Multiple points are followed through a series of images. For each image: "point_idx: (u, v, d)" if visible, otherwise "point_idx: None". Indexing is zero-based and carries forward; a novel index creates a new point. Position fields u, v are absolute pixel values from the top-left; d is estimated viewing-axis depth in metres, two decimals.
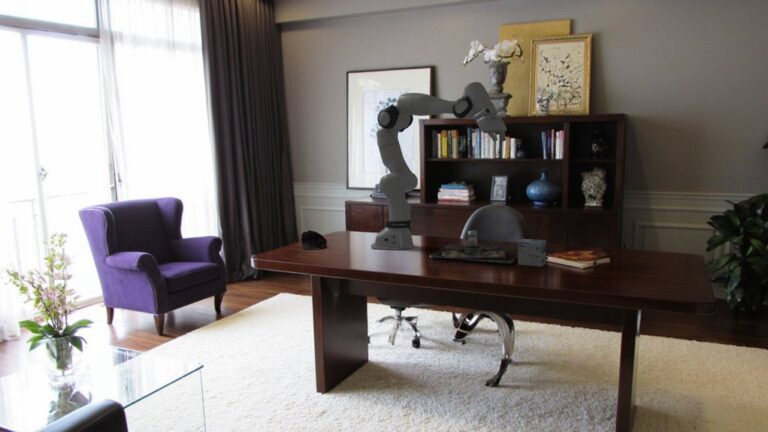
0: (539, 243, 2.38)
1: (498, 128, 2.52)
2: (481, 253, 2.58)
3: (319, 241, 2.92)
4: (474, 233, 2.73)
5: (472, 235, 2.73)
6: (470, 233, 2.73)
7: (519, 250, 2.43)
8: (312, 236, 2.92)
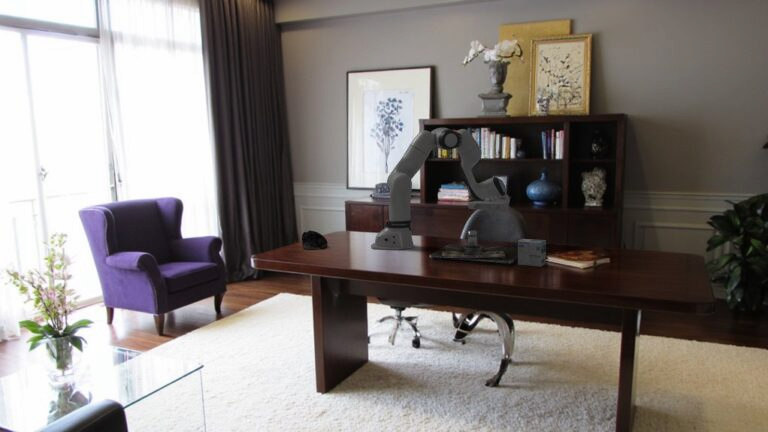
0: (539, 243, 2.38)
1: (486, 209, 2.88)
2: (481, 253, 2.58)
3: (320, 241, 2.92)
4: (474, 233, 2.73)
5: (472, 235, 2.73)
6: (470, 233, 2.73)
7: (519, 250, 2.43)
8: (313, 236, 2.92)
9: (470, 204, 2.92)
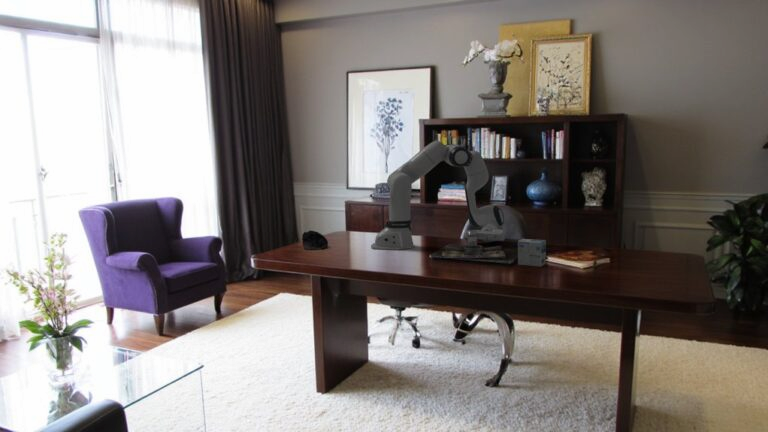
0: (539, 243, 2.38)
1: None
2: (481, 253, 2.58)
3: (320, 241, 2.91)
4: (474, 233, 2.73)
5: (472, 235, 2.73)
6: (470, 233, 2.73)
7: (519, 250, 2.43)
8: (313, 236, 2.92)
9: (467, 233, 2.91)
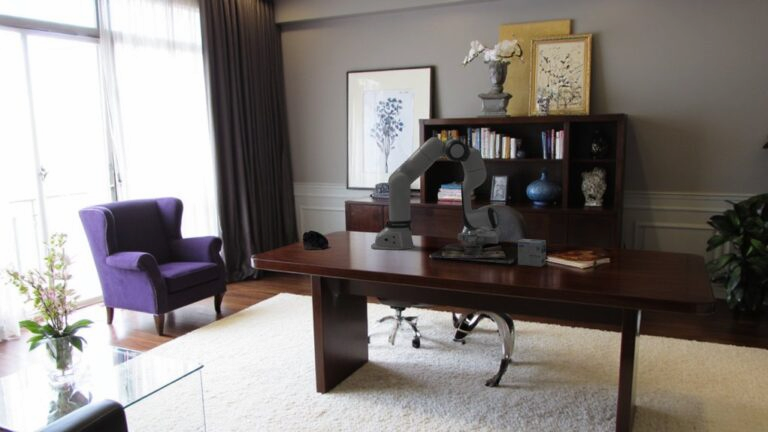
0: (539, 243, 2.38)
1: None
2: (481, 253, 2.58)
3: (321, 241, 2.91)
4: (474, 233, 2.73)
5: (472, 235, 2.73)
6: (470, 233, 2.73)
7: (519, 250, 2.43)
8: (314, 236, 2.92)
9: (459, 236, 2.83)
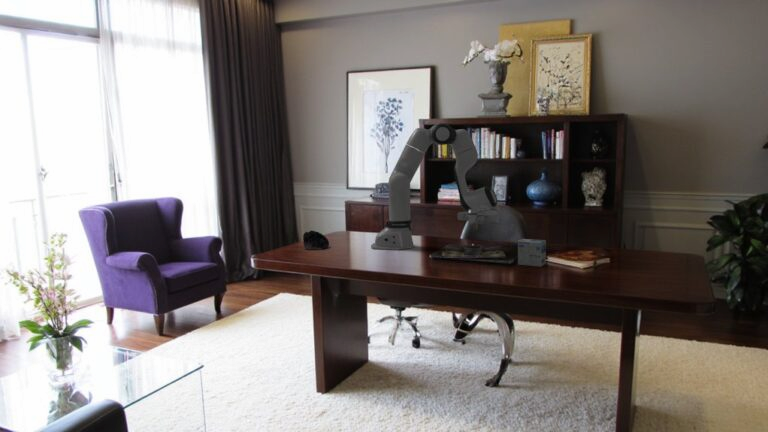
0: (539, 243, 2.38)
1: None
2: (481, 253, 2.58)
3: (321, 241, 2.91)
4: (474, 211, 2.67)
5: (472, 213, 2.67)
6: (470, 211, 2.68)
7: (519, 250, 2.43)
8: (314, 236, 2.92)
9: (459, 215, 2.77)
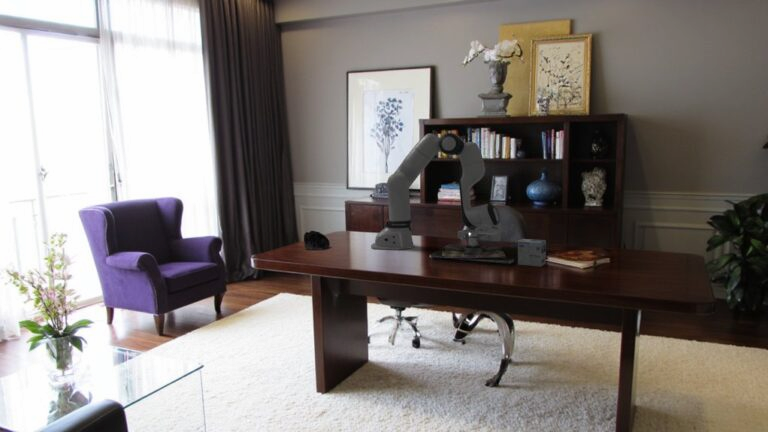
0: (539, 243, 2.38)
1: None
2: (481, 253, 2.58)
3: (322, 241, 2.91)
4: (475, 234, 2.60)
5: (473, 237, 2.60)
6: (471, 234, 2.60)
7: (519, 250, 2.43)
8: (315, 236, 2.91)
9: (459, 233, 2.70)
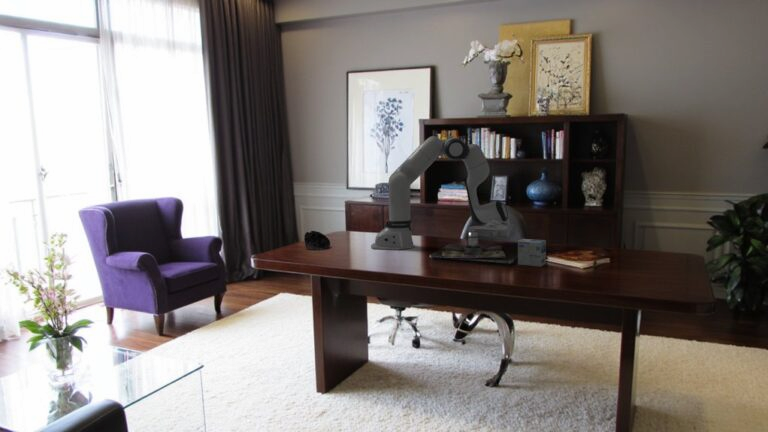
0: (539, 243, 2.38)
1: (486, 235, 2.77)
2: (481, 253, 2.58)
3: (323, 241, 2.91)
4: (475, 234, 2.60)
5: (473, 237, 2.60)
6: (471, 234, 2.60)
7: (519, 250, 2.43)
8: (315, 236, 2.91)
9: (470, 229, 2.80)
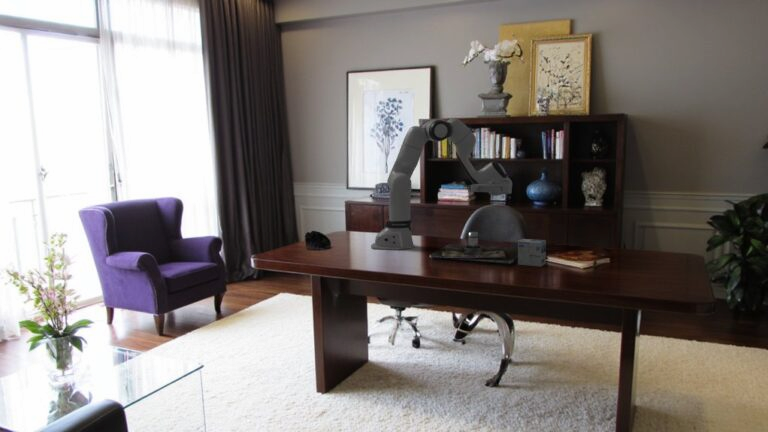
0: (539, 243, 2.38)
1: (489, 192, 2.82)
2: (481, 253, 2.58)
3: (323, 241, 2.90)
4: (475, 234, 2.60)
5: (473, 237, 2.60)
6: (471, 234, 2.60)
7: (519, 250, 2.43)
8: (316, 236, 2.91)
9: (473, 186, 2.86)
